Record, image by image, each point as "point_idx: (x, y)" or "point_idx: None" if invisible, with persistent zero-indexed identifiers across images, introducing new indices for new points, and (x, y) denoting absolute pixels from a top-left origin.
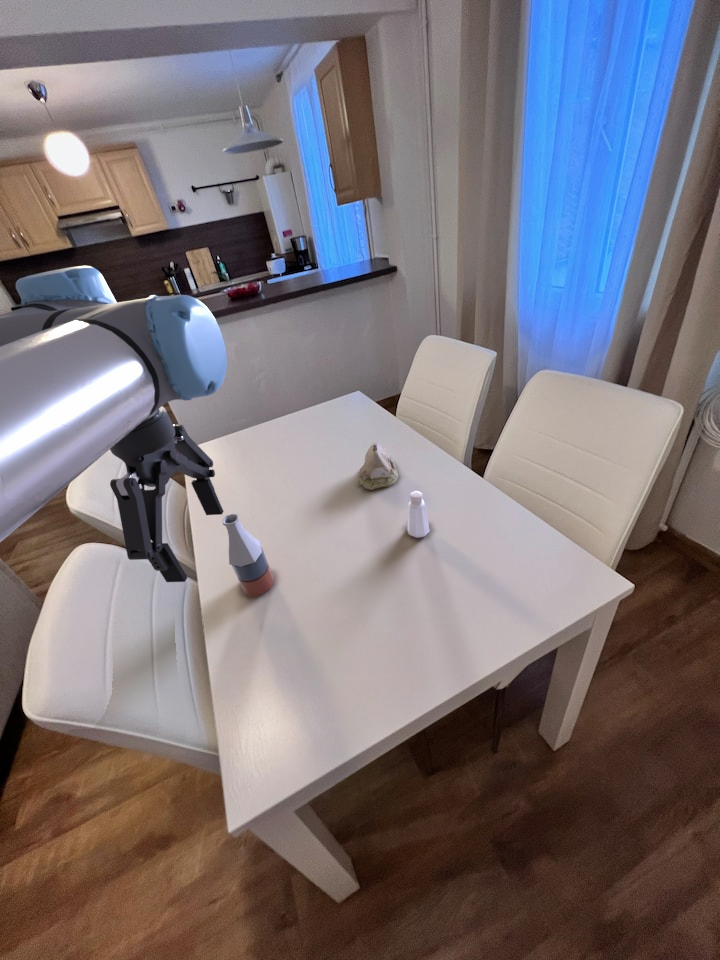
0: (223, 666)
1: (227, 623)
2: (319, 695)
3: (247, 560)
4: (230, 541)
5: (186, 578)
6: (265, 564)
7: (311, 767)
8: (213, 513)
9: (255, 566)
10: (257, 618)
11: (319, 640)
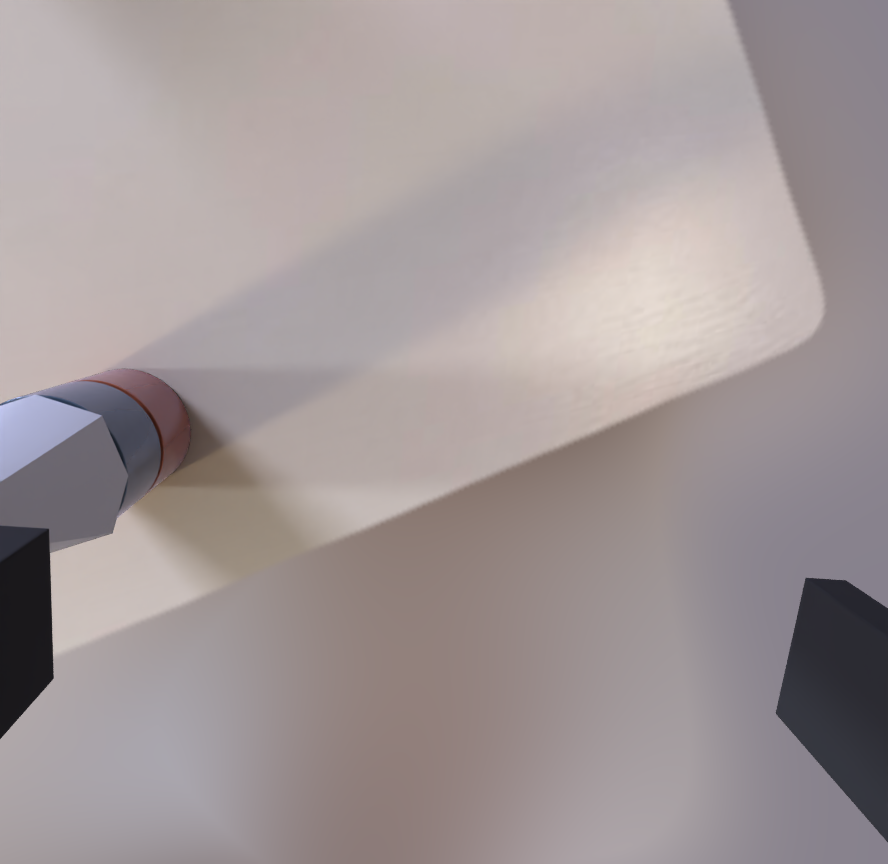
0: (455, 470)
1: (302, 500)
2: (575, 144)
3: (100, 448)
4: None
5: (820, 580)
6: (81, 385)
7: (757, 154)
8: (41, 614)
9: (112, 417)
10: (287, 399)
11: (390, 157)
